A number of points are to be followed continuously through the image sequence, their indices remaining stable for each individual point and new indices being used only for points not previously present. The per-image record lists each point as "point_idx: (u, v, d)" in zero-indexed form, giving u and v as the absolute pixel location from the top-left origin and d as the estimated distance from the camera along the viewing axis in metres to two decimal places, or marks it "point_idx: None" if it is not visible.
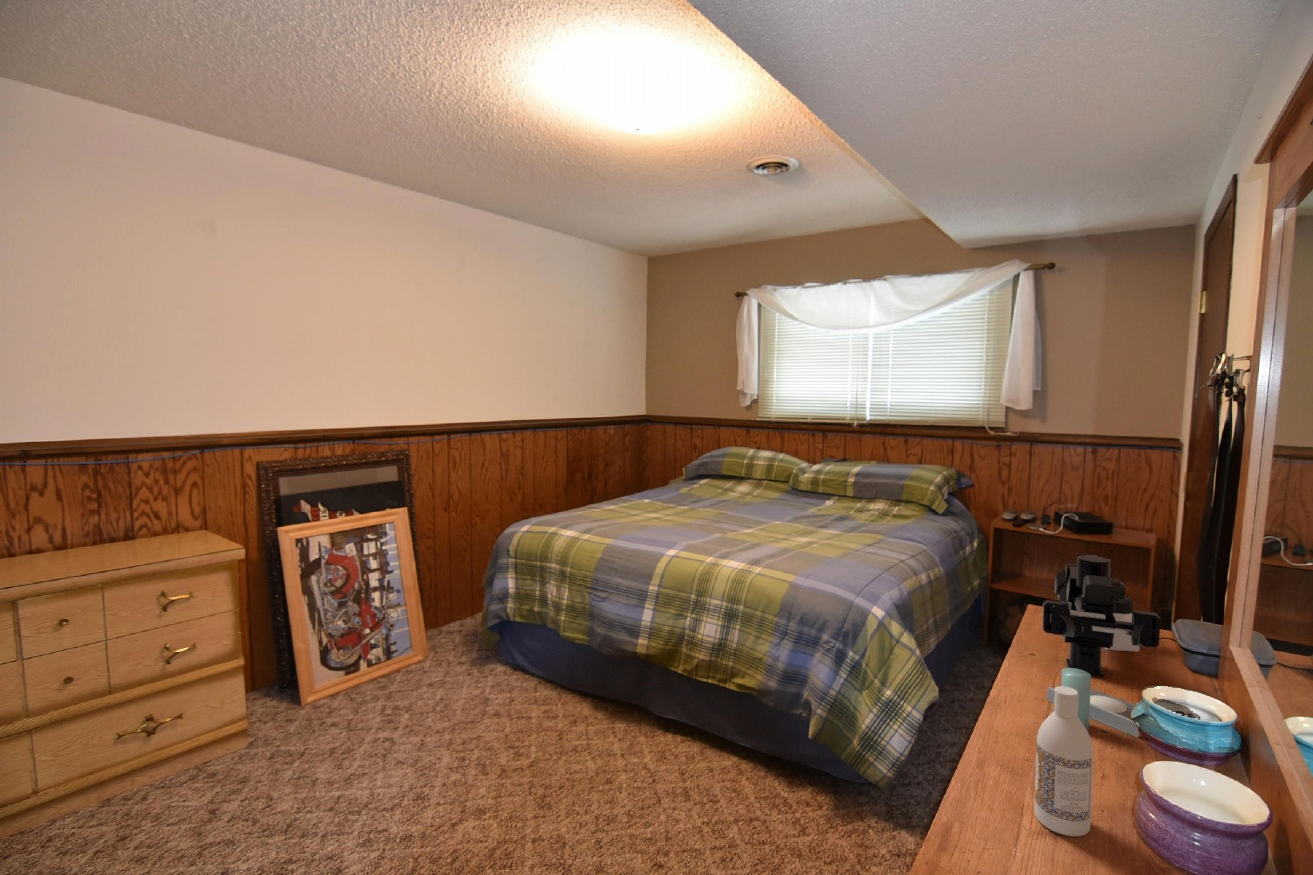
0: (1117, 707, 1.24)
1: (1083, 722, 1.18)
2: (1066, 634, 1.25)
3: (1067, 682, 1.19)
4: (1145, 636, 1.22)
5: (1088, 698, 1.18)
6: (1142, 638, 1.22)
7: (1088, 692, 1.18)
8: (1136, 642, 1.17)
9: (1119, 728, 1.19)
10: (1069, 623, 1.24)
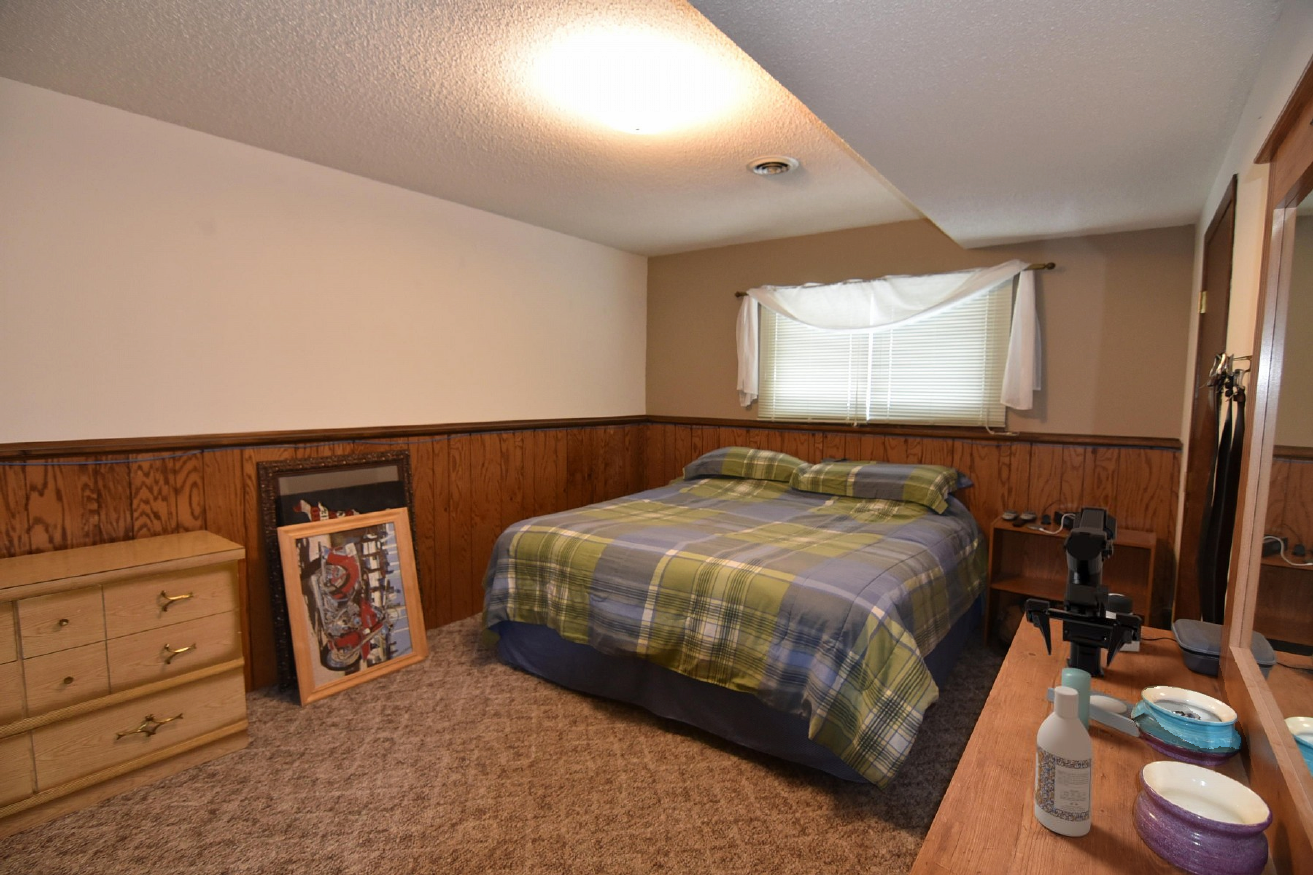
0: (1117, 707, 1.24)
1: (1083, 722, 1.18)
2: None
3: (1067, 682, 1.19)
4: (1125, 638, 1.22)
5: (1088, 698, 1.18)
6: (1122, 639, 1.22)
7: (1088, 692, 1.18)
8: (1107, 665, 1.20)
9: (1119, 728, 1.19)
10: (1046, 638, 1.26)
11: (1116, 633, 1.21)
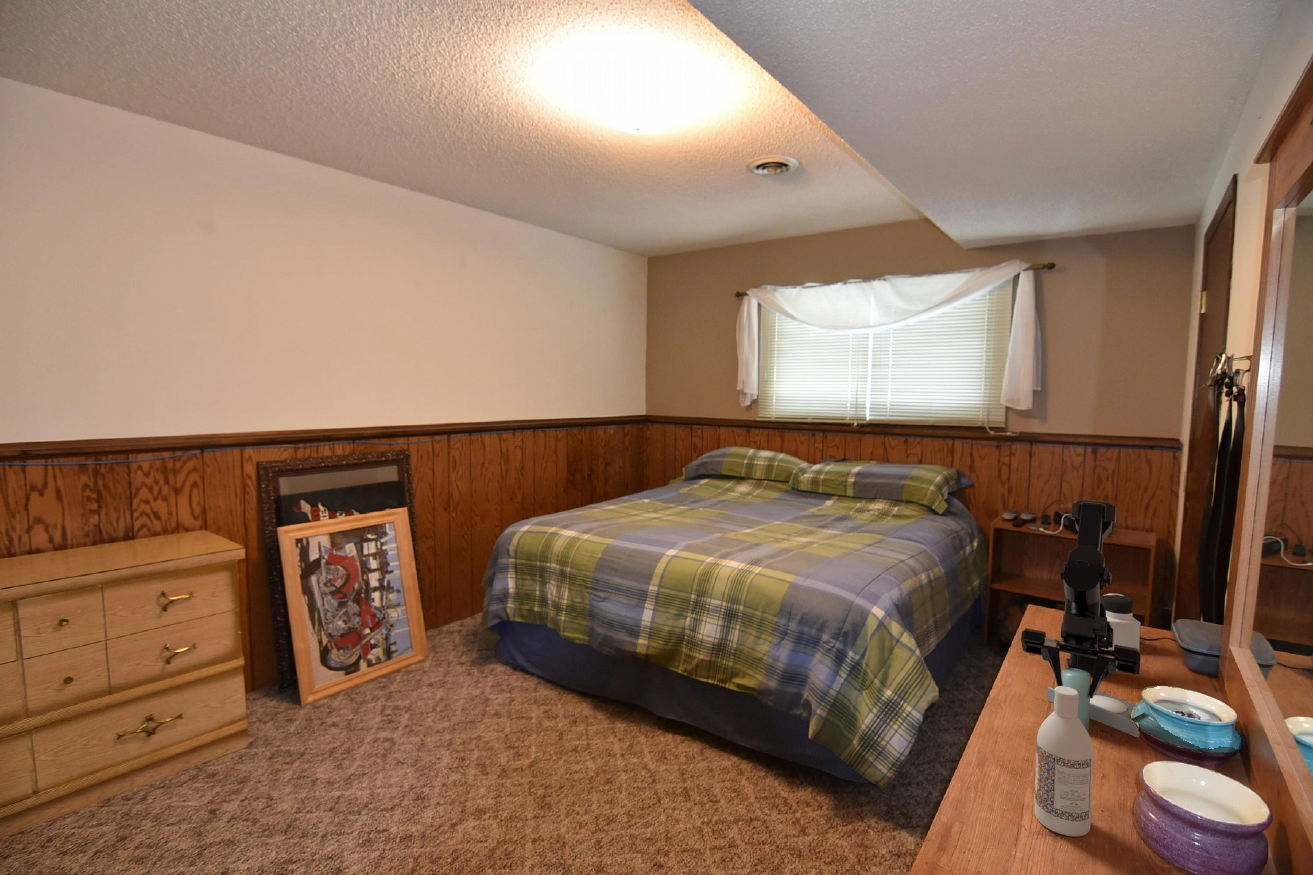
0: (1117, 707, 1.24)
1: (1083, 722, 1.18)
2: (1054, 675, 1.24)
3: (1067, 682, 1.19)
4: (1109, 668, 1.20)
5: (1088, 698, 1.18)
6: (1106, 669, 1.20)
7: (1088, 692, 1.18)
8: (1091, 697, 1.18)
9: (1119, 728, 1.19)
10: (1055, 673, 1.22)
11: (1100, 664, 1.19)
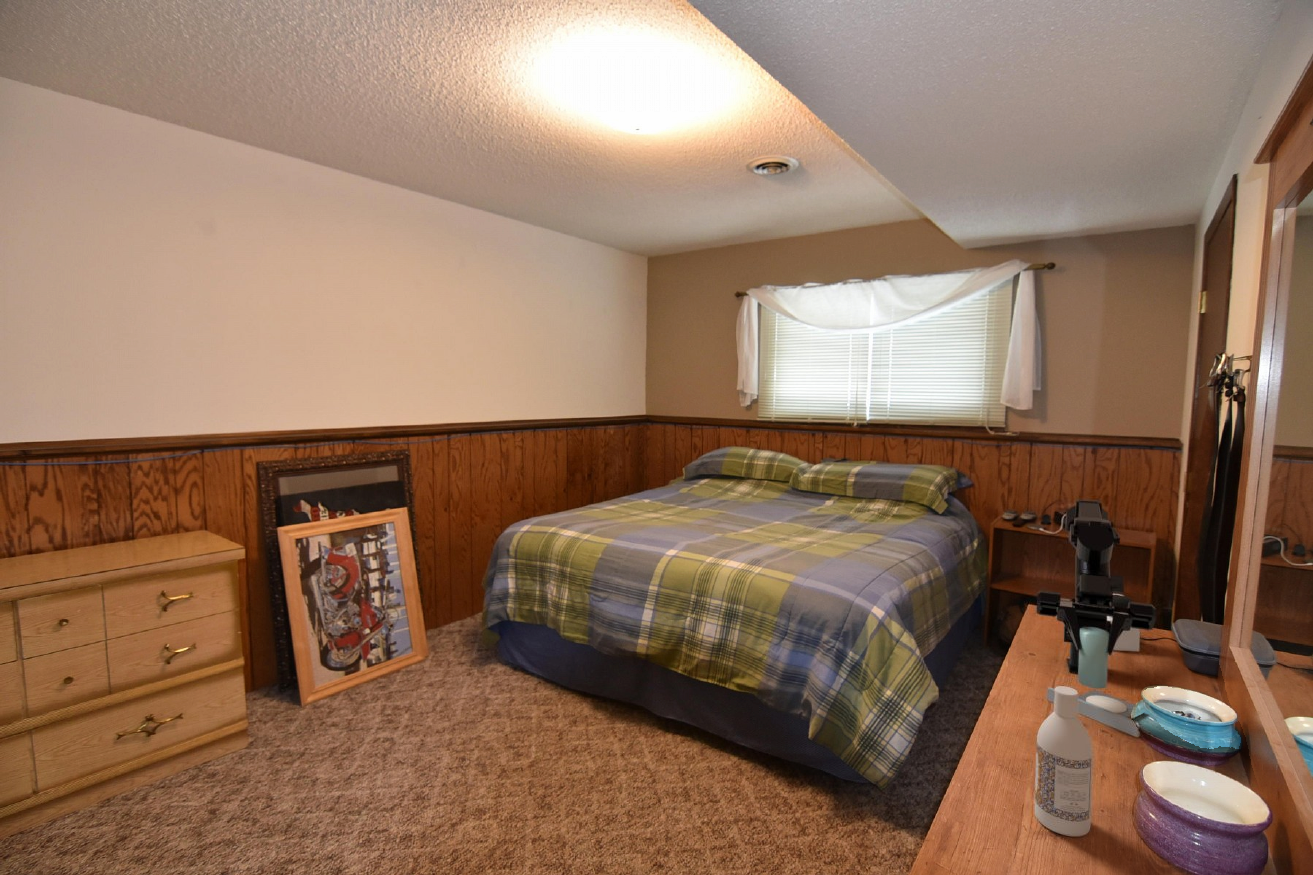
0: (1117, 707, 1.24)
1: (1102, 679, 1.20)
2: (1070, 635, 1.25)
3: (1086, 641, 1.20)
4: (1124, 625, 1.22)
5: (1107, 655, 1.20)
6: None
7: (1107, 649, 1.20)
8: (1110, 654, 1.19)
9: (1119, 728, 1.19)
10: (1073, 632, 1.23)
11: (1117, 621, 1.20)
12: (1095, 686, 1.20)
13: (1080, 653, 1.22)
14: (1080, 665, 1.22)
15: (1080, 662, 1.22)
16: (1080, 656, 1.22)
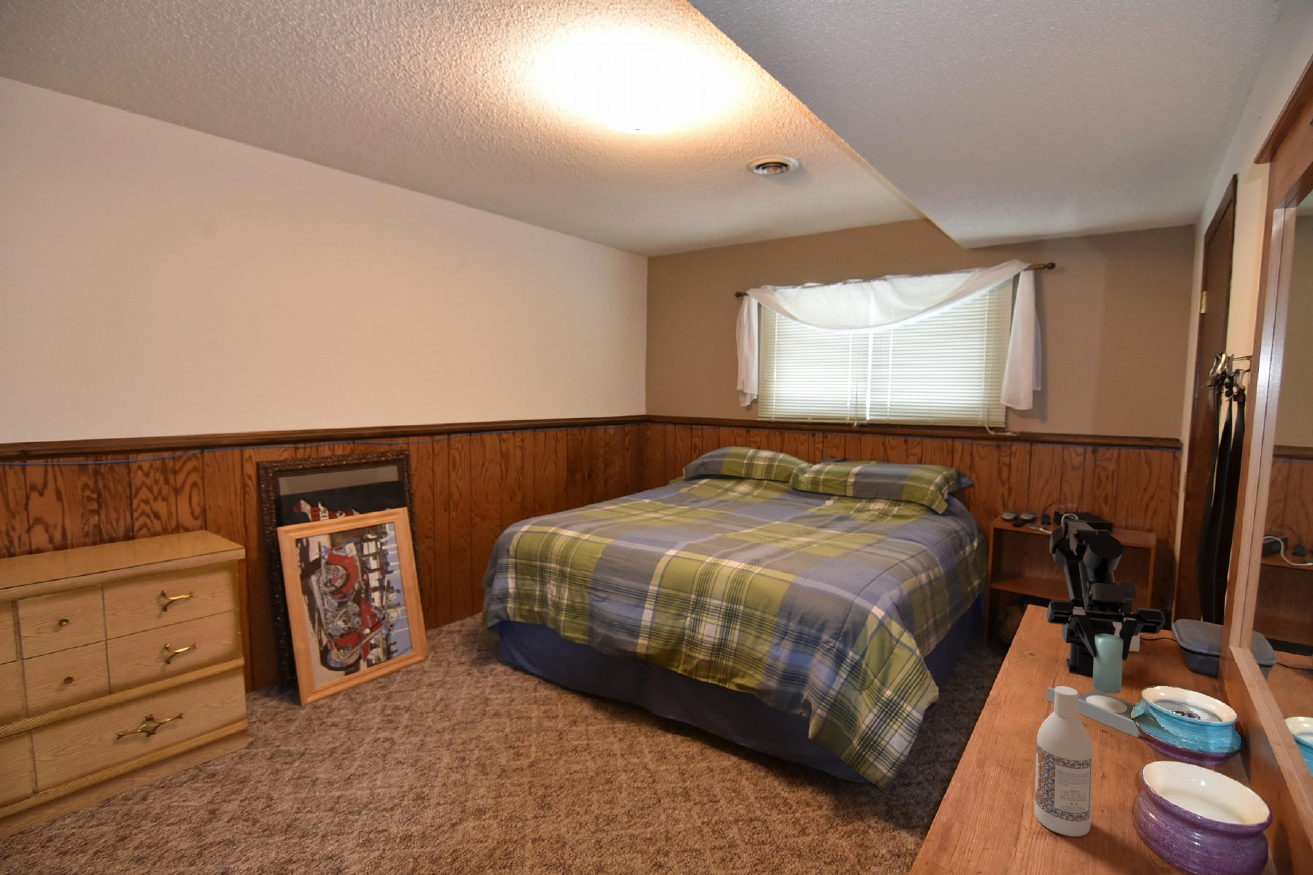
0: (1117, 707, 1.24)
1: (1118, 684, 1.23)
2: (1084, 642, 1.28)
3: (1103, 648, 1.24)
4: None
5: (1121, 661, 1.24)
6: None
7: (1122, 655, 1.23)
8: (1125, 660, 1.23)
9: (1119, 728, 1.19)
10: (1089, 640, 1.26)
11: (1129, 627, 1.24)
12: (1111, 692, 1.24)
13: (1096, 660, 1.25)
14: (1096, 671, 1.25)
15: (1096, 669, 1.25)
16: (1096, 663, 1.25)
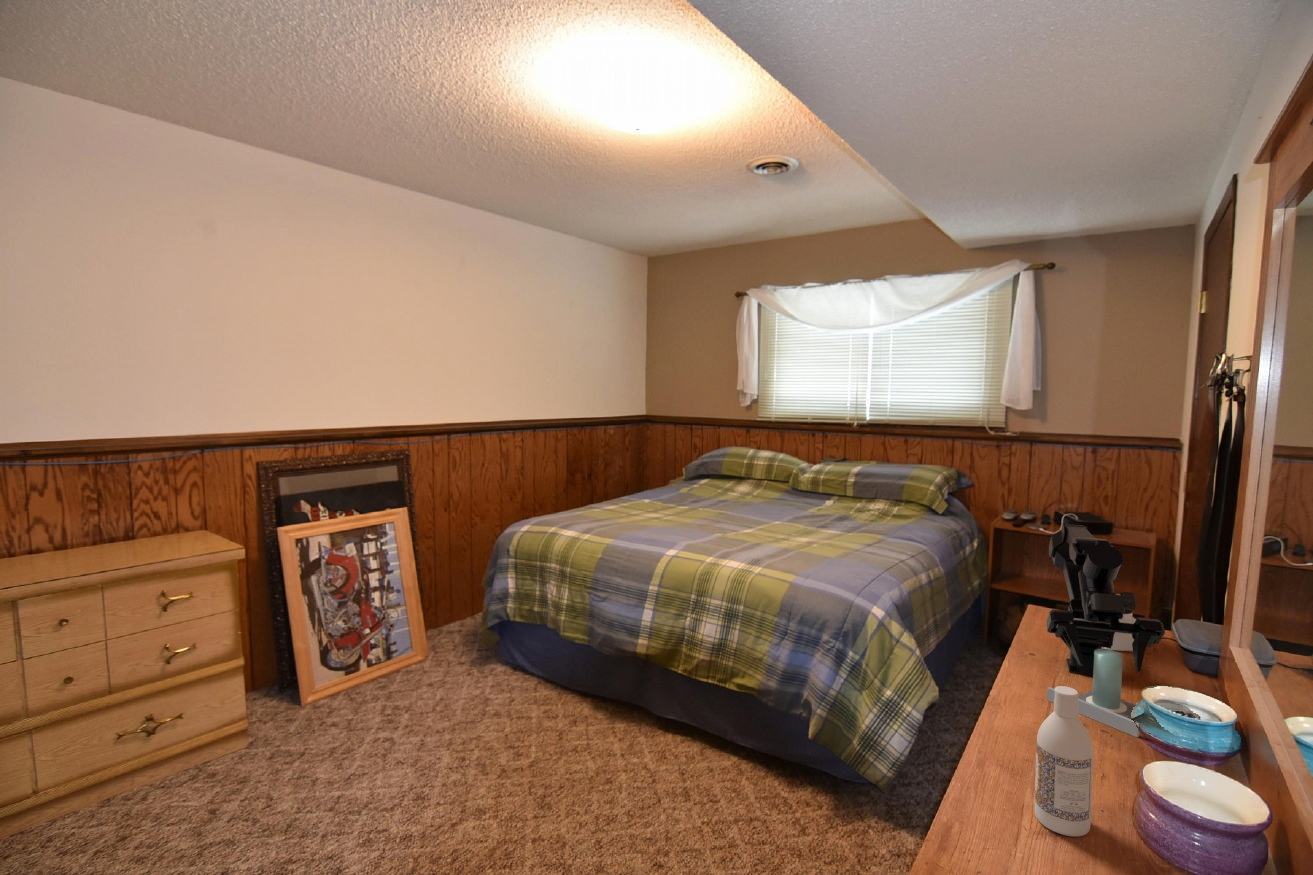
0: None
1: (1117, 700, 1.24)
2: (1071, 650, 1.29)
3: (1102, 663, 1.24)
4: None
5: (1121, 676, 1.24)
6: None
7: (1121, 671, 1.24)
8: (1139, 671, 1.22)
9: (1119, 728, 1.19)
10: (1075, 648, 1.27)
11: (1142, 639, 1.24)
12: (1111, 707, 1.24)
13: (1095, 675, 1.25)
14: (1095, 686, 1.25)
15: (1095, 684, 1.25)
16: (1095, 678, 1.25)
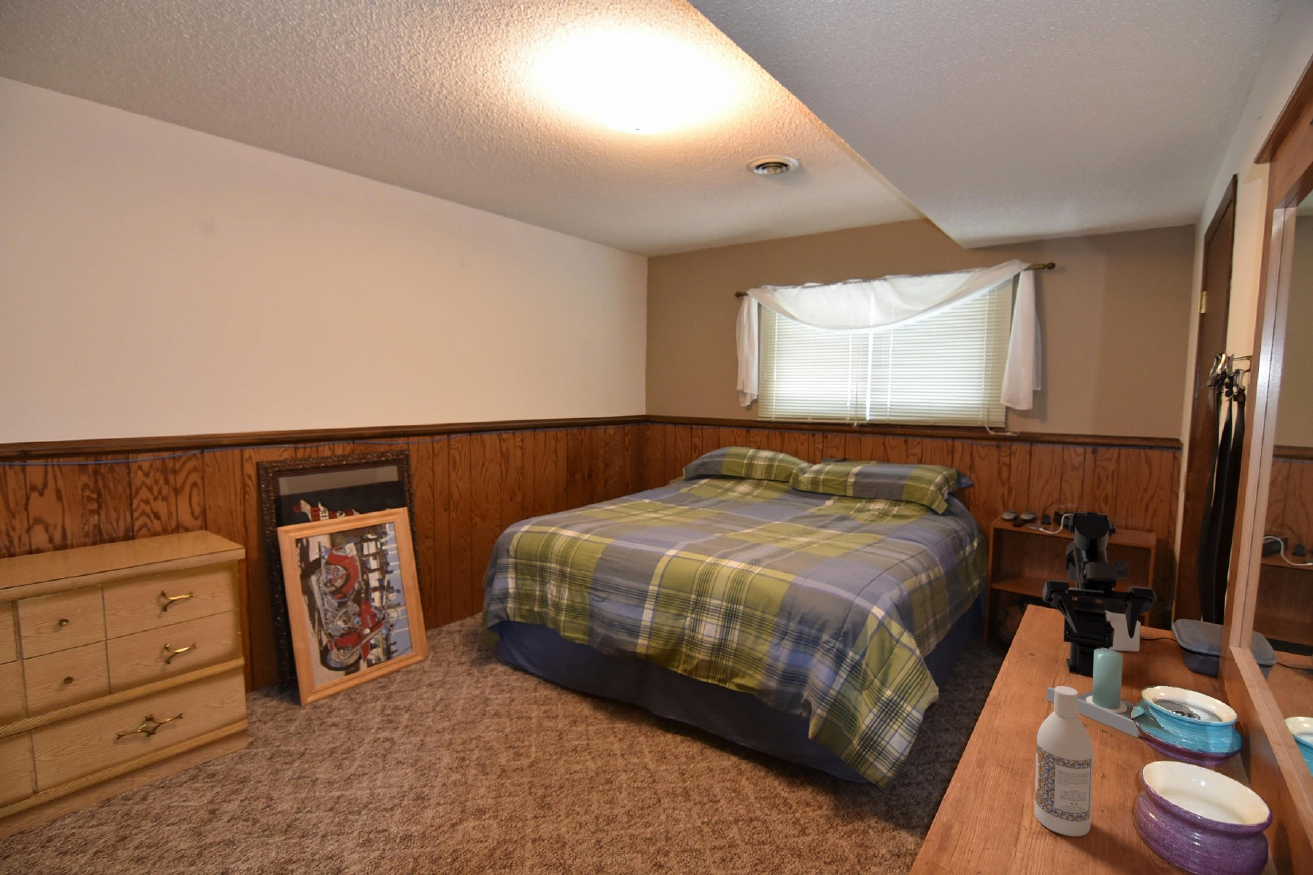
0: None
1: (1117, 700, 1.24)
2: (1066, 618, 1.33)
3: (1102, 663, 1.24)
4: None
5: (1121, 676, 1.24)
6: None
7: (1121, 670, 1.24)
8: (1132, 637, 1.26)
9: (1119, 728, 1.19)
10: (1071, 616, 1.31)
11: (1135, 606, 1.28)
12: (1111, 707, 1.24)
13: (1095, 675, 1.25)
14: (1095, 687, 1.26)
15: (1095, 684, 1.25)
16: (1095, 678, 1.25)
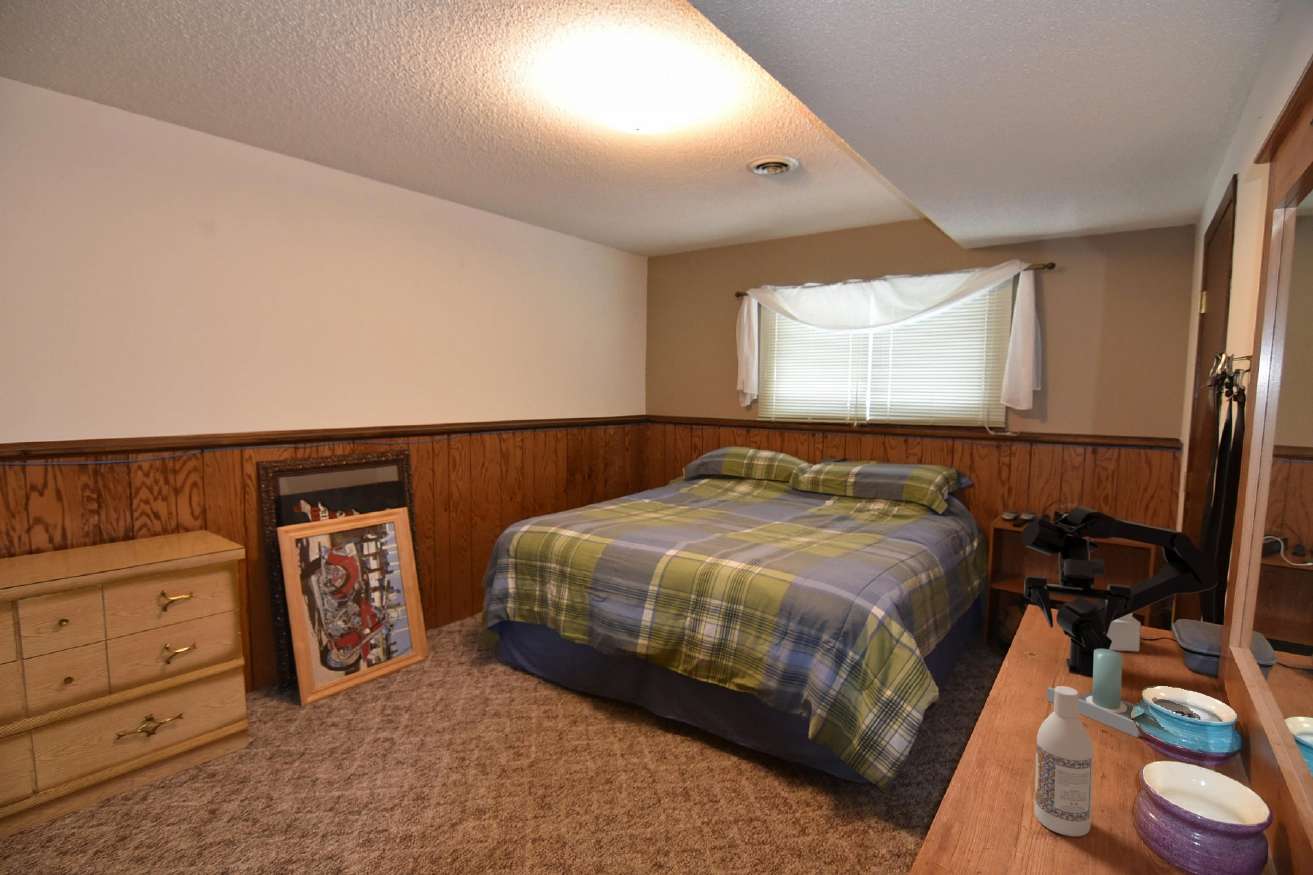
0: None
1: (1117, 700, 1.24)
2: (1044, 614, 1.36)
3: (1102, 663, 1.24)
4: (1117, 607, 1.31)
5: (1121, 676, 1.24)
6: None
7: (1121, 670, 1.24)
8: (1106, 634, 1.28)
9: (1119, 728, 1.19)
10: (1047, 611, 1.34)
11: (1111, 603, 1.30)
12: (1111, 707, 1.24)
13: (1095, 675, 1.25)
14: (1095, 686, 1.26)
15: (1095, 684, 1.25)
16: (1095, 678, 1.25)
